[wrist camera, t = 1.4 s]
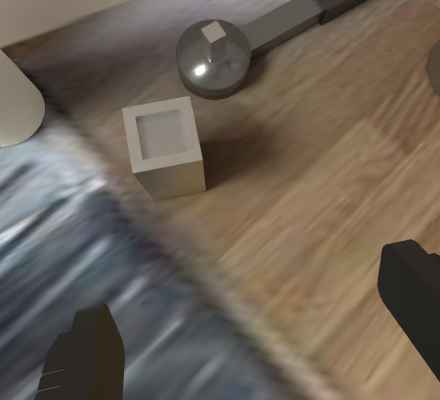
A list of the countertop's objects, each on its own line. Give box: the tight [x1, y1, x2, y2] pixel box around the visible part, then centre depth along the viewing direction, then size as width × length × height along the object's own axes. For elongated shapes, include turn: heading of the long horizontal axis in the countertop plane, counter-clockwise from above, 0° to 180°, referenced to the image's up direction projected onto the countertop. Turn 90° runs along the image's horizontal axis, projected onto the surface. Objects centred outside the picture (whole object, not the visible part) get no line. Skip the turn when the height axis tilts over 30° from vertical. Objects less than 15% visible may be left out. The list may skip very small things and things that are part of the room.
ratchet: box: [176, 0, 366, 100], centre depth 35 cm, size 24×7×6 cm, turn 122°
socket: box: [122, 96, 206, 201], centre depth 30 cm, size 5×5×10 cm
